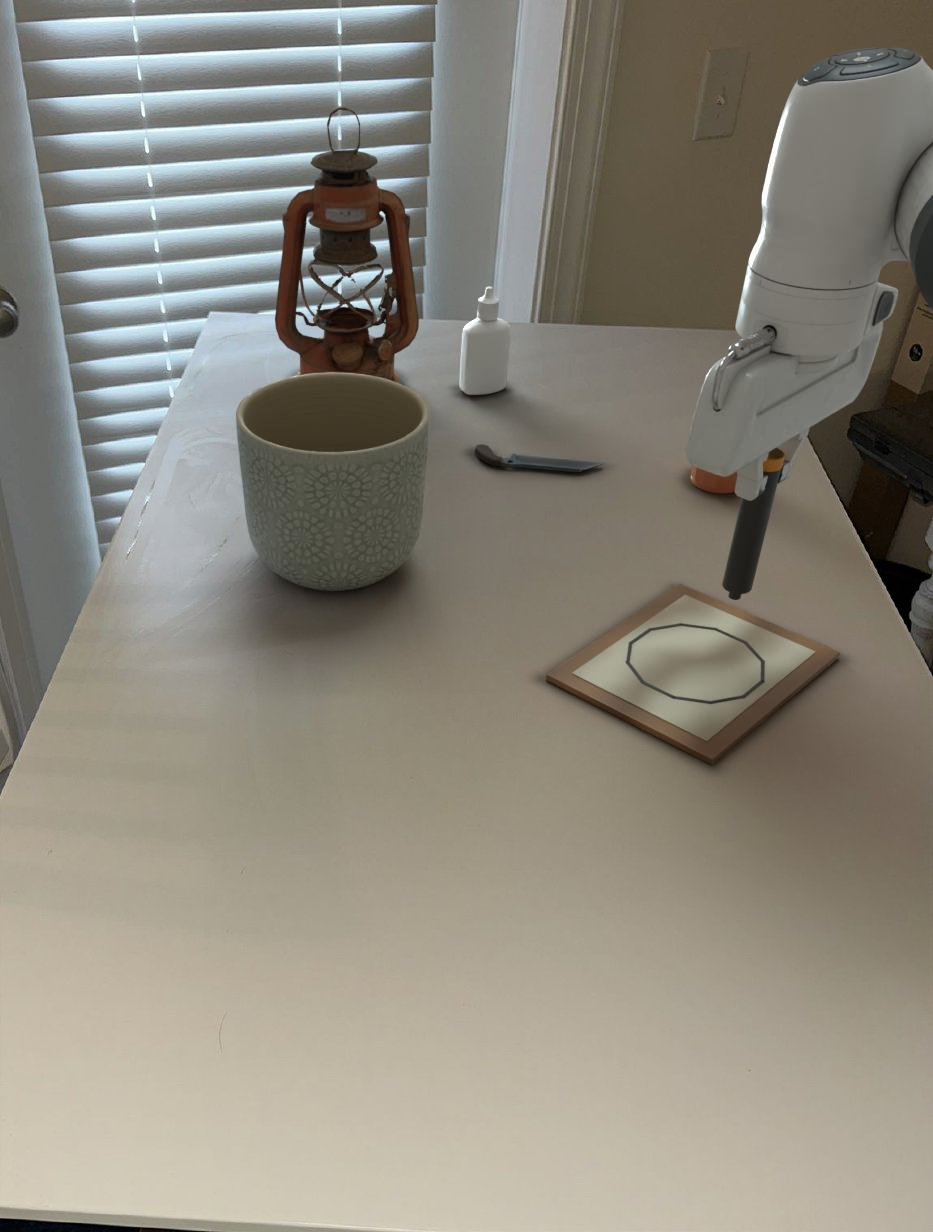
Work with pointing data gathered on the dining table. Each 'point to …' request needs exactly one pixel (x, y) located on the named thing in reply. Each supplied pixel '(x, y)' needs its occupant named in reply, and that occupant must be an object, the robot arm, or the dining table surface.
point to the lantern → (345, 220)
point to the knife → (534, 461)
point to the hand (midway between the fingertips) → (761, 487)
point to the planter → (333, 476)
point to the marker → (751, 531)
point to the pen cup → (713, 481)
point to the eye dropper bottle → (485, 349)
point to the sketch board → (694, 671)
